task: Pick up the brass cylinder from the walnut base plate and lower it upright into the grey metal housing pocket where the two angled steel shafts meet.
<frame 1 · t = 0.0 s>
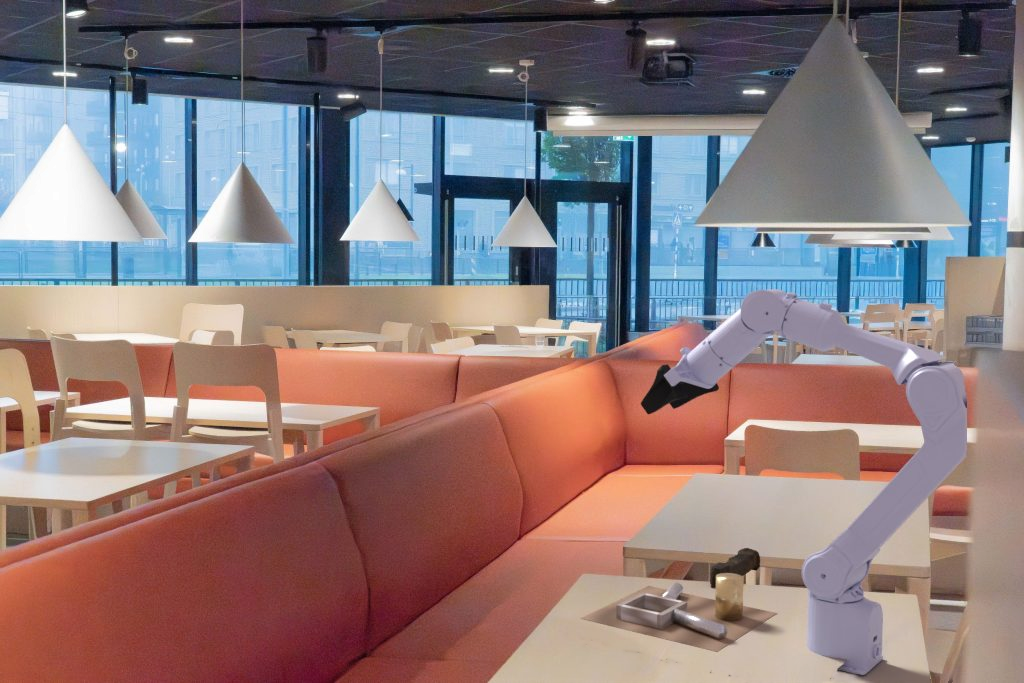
hand: (658, 406, 160), 32 cm above the table, tool tilted 50°, fingers open, 7 cm apart
shaft A: (697, 640, 152), resting on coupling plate
hand tool: (734, 584, 180), on the table
brass cylinder: (728, 616, 158), point 1 cm above the table, touching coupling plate
shaft B: (670, 612, 165), resting on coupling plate
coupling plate: (679, 625, 159), on the table
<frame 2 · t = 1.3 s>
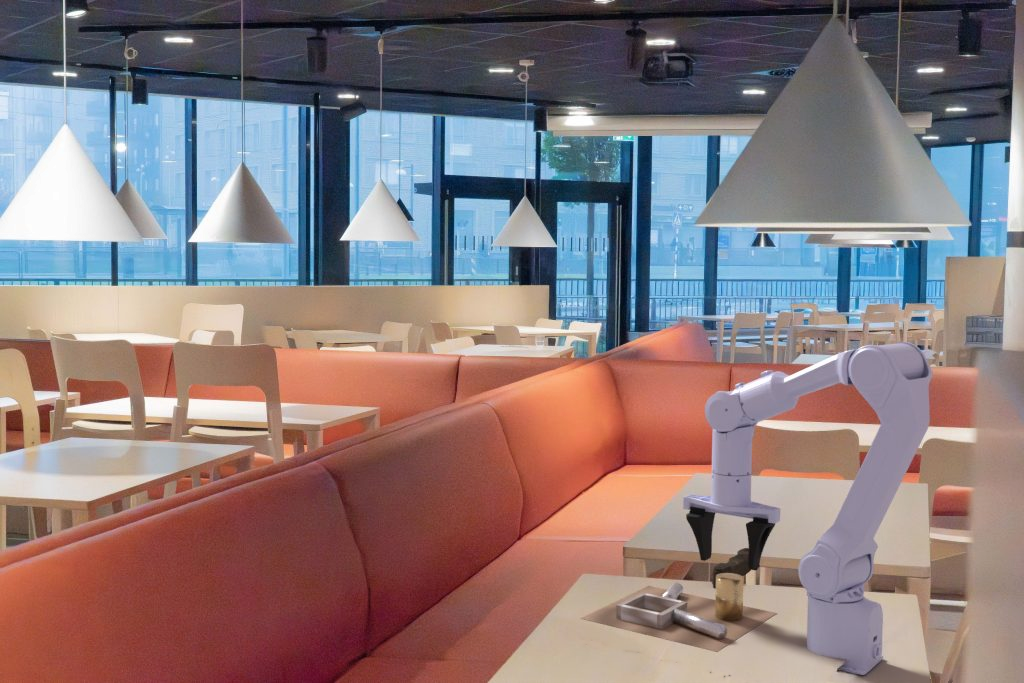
hand: (729, 563, 157), 9 cm above the table, tool pointing down, fingers open, 7 cm apart
nothing on the table moved.
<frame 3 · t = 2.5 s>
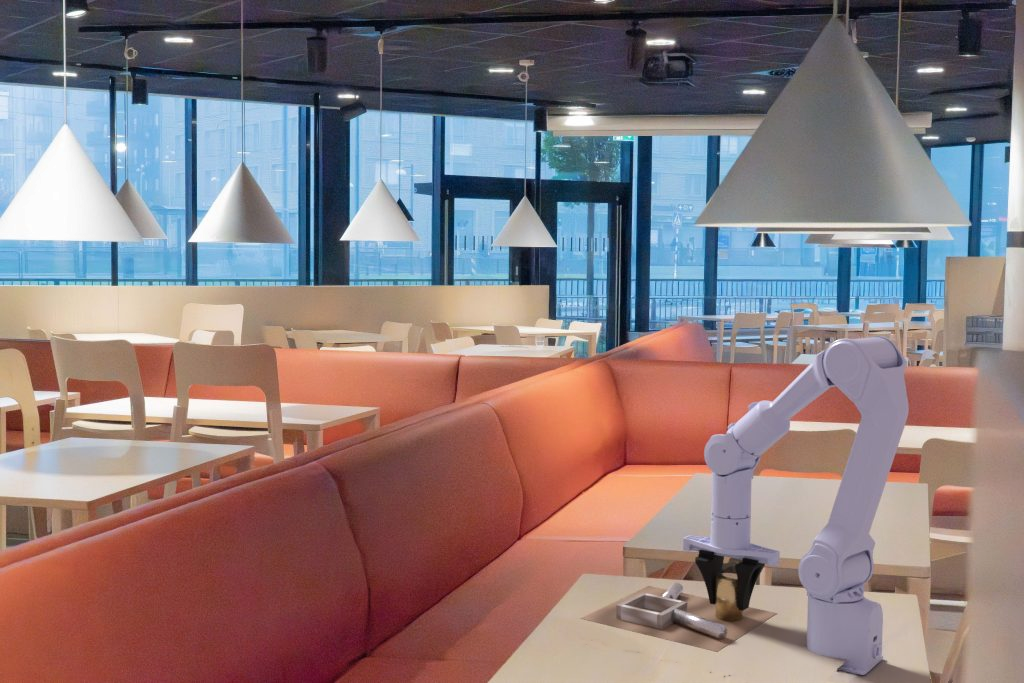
hand: (729, 605, 158), 3 cm above the table, tool pointing down, fingers closed on brass cylinder, 4 cm apart
brass cylinder: (728, 616, 158), point 1 cm above the table, touching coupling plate, gripper
everything else where it was.
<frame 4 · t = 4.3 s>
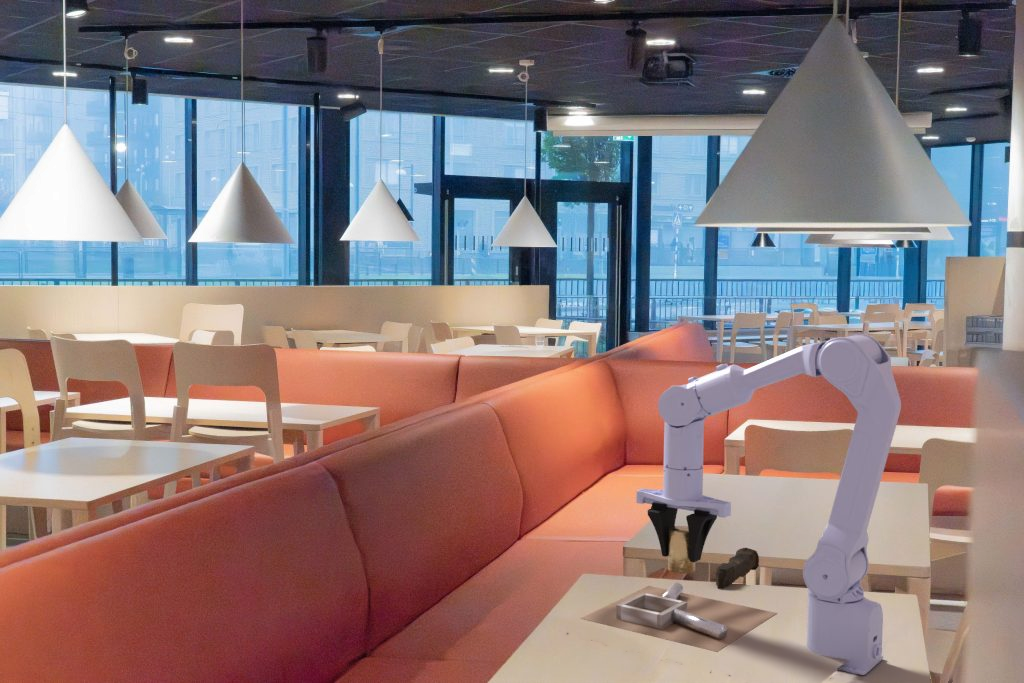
hand: (681, 557, 157), 10 cm above the table, tool pointing down, fingers closed on brass cylinder, 4 cm apart
brass cylinder: (681, 569, 158), point 9 cm above the table, touching gripper
everything else where it was.
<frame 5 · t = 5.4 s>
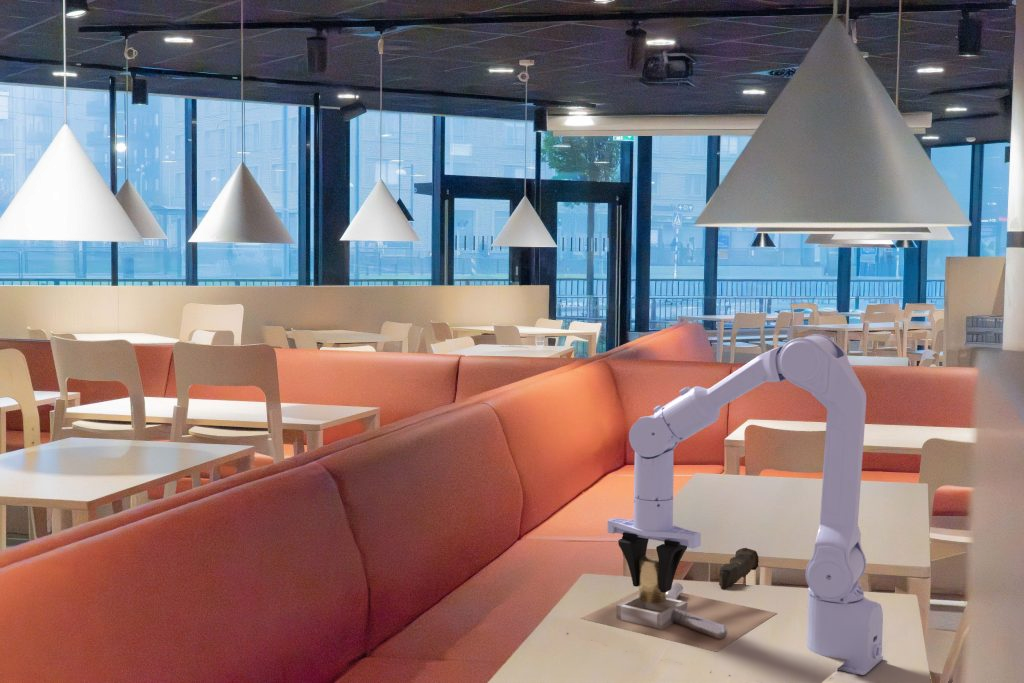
hand: (652, 587, 158), 6 cm above the table, tool pointing down, fingers closed on brass cylinder, 4 cm apart
brass cylinder: (652, 599, 158), point 4 cm above the table, touching gripper
everything else where it was.
when the fingers open (4 cm above the table, at t = 6.1 s): brass cylinder stays where it is, resting on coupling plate.
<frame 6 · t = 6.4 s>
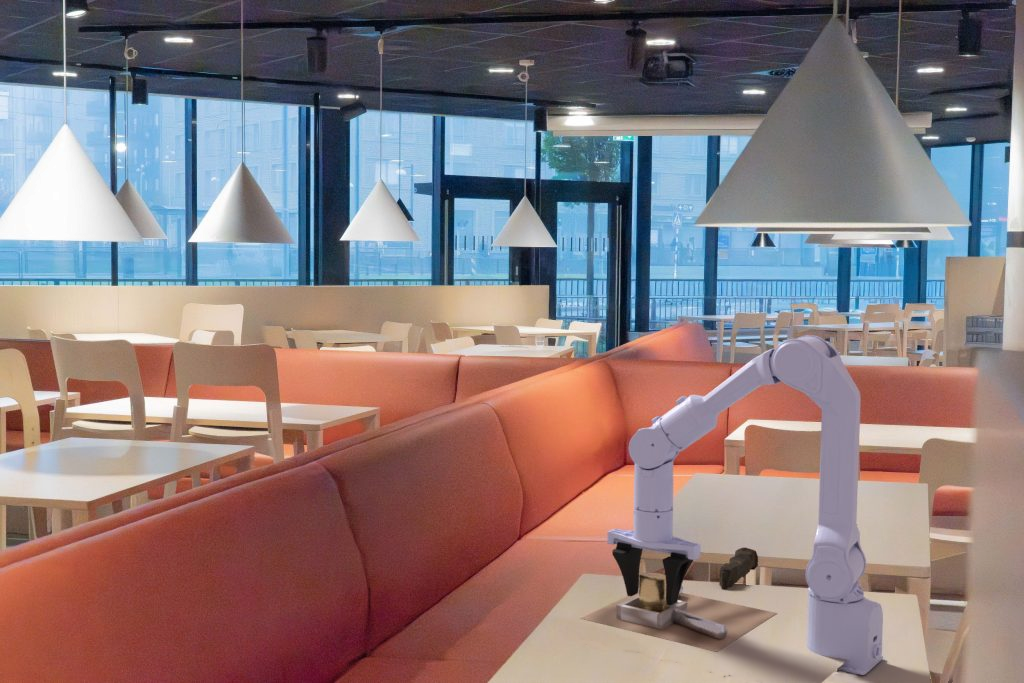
hand: (652, 598, 158), 4 cm above the table, tool pointing down, fingers open, 6 cm apart
brass cylinder: (652, 616, 158), point 2 cm above the table, touching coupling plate
everything else where it was.
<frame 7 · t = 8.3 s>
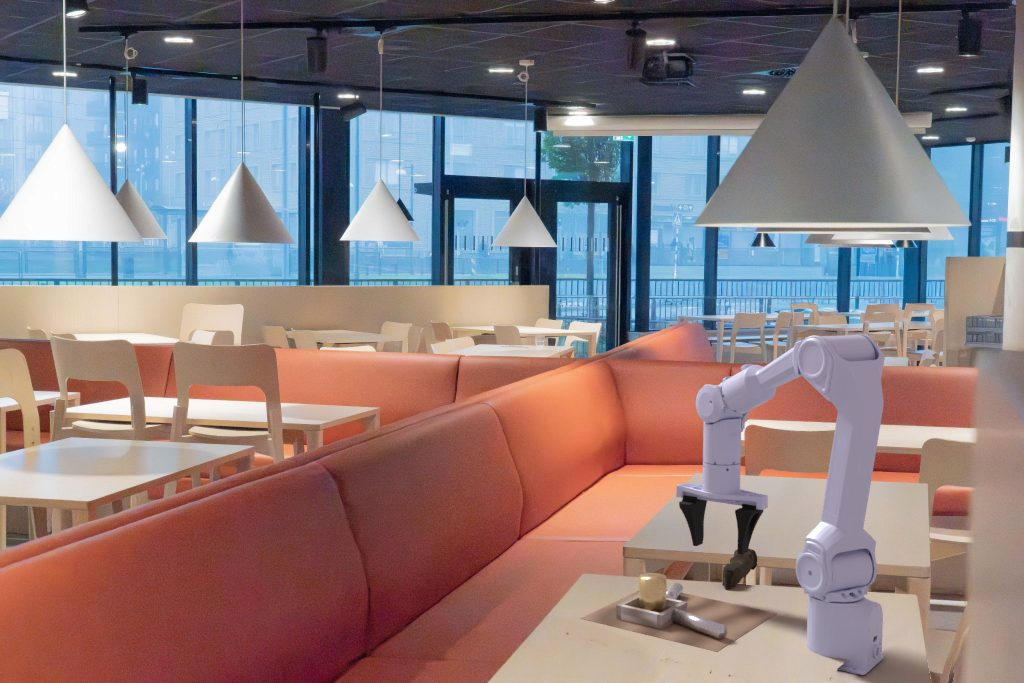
hand: (720, 548, 166), 9 cm above the table, tool pointing down, fingers open, 7 cm apart
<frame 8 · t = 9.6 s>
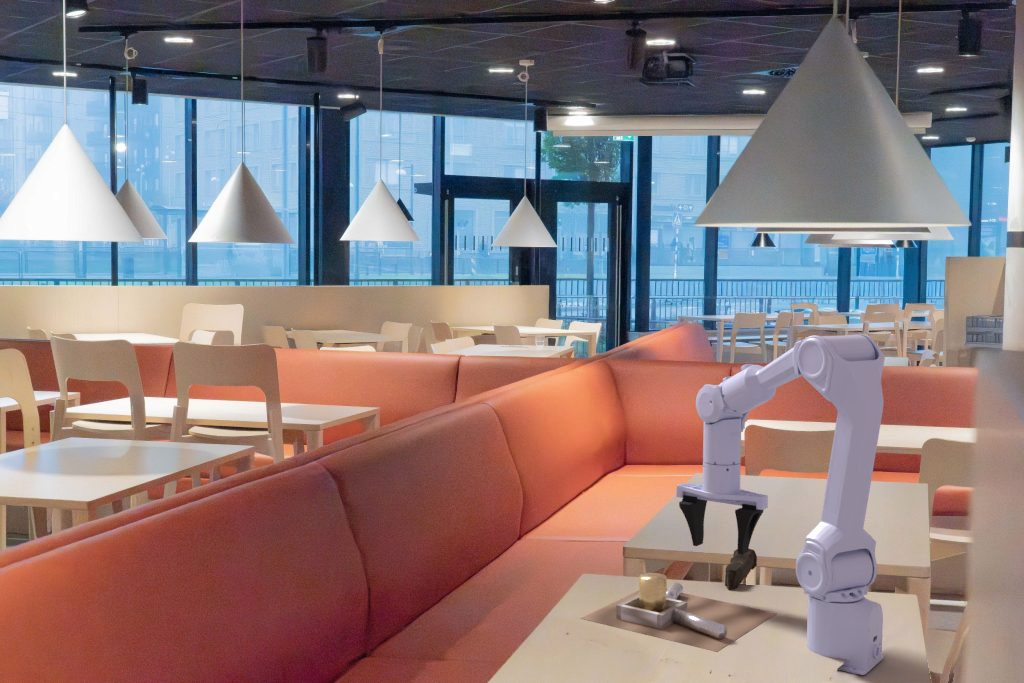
hand: (720, 548, 166), 9 cm above the table, tool pointing down, fingers open, 7 cm apart
at the end: brass cylinder 0.2 cm from the target spot on the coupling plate, point 1.5 cm above the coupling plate's base; brass cylinder tilted 0°; the gripper is holding nothing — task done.
